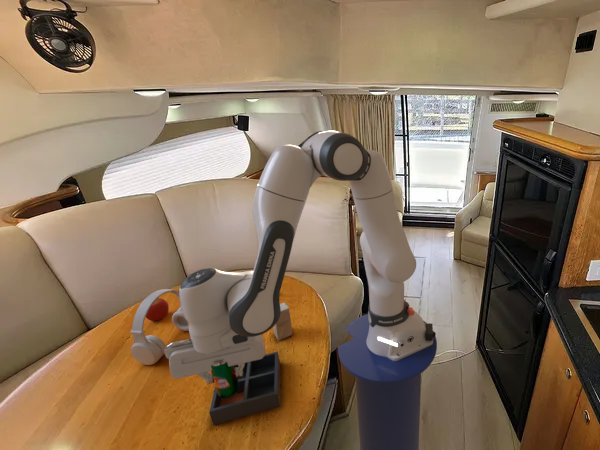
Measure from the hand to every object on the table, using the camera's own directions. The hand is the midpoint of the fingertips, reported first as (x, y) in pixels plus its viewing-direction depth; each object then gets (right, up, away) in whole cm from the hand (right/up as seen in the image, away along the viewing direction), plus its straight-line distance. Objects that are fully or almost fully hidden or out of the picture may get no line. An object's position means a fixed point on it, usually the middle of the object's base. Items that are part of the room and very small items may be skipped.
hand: (225, 378), depth 79 cm
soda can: (0, -4, +2) cm, 5 cm away
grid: (+2, -7, +8) cm, 11 cm away
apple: (-46, +4, +37) cm, 60 cm away
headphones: (-32, -1, +25) cm, 41 cm away
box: (+4, +1, +29) cm, 30 cm away
